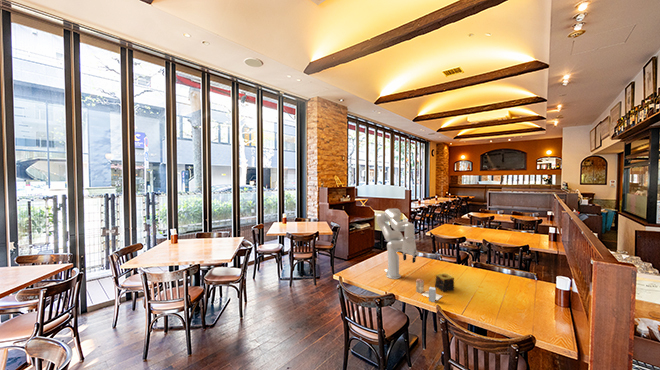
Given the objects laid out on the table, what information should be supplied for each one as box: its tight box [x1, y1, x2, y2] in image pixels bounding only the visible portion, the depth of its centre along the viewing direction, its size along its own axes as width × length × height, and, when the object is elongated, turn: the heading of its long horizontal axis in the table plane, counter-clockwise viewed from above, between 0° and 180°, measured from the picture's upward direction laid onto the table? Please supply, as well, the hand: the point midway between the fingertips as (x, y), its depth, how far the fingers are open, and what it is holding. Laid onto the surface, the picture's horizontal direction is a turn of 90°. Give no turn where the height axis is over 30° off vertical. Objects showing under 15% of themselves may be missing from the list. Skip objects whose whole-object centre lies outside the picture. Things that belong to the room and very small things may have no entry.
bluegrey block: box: [428, 286, 437, 303], centre depth 185 cm, size 4×4×9 cm
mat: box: [420, 290, 443, 301], centre depth 192 cm, size 12×9×1 cm
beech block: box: [415, 278, 425, 294], centre depth 199 cm, size 4×4×9 cm
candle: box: [434, 273, 455, 293], centre depth 204 cm, size 10×10×10 cm
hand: (409, 261), depth 205 cm, fingers open, 7 cm apart
